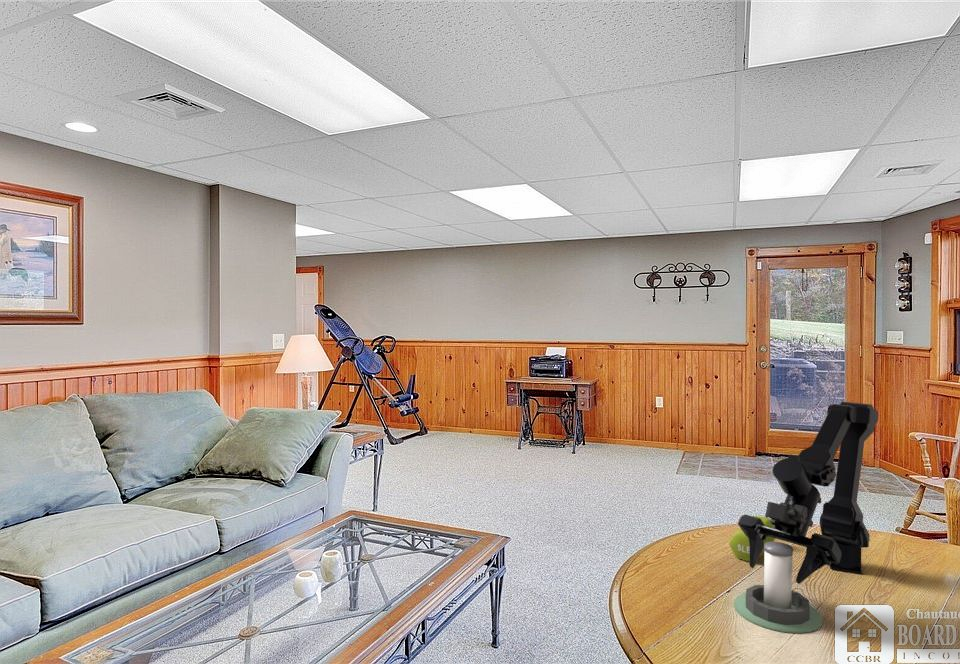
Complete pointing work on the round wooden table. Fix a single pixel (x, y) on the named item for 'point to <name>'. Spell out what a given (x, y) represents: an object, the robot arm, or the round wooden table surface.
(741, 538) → the dumbbell
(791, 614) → the green round disc
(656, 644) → the round wooden table surface
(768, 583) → the white gray-capped cylinder
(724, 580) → the round wooden table surface
